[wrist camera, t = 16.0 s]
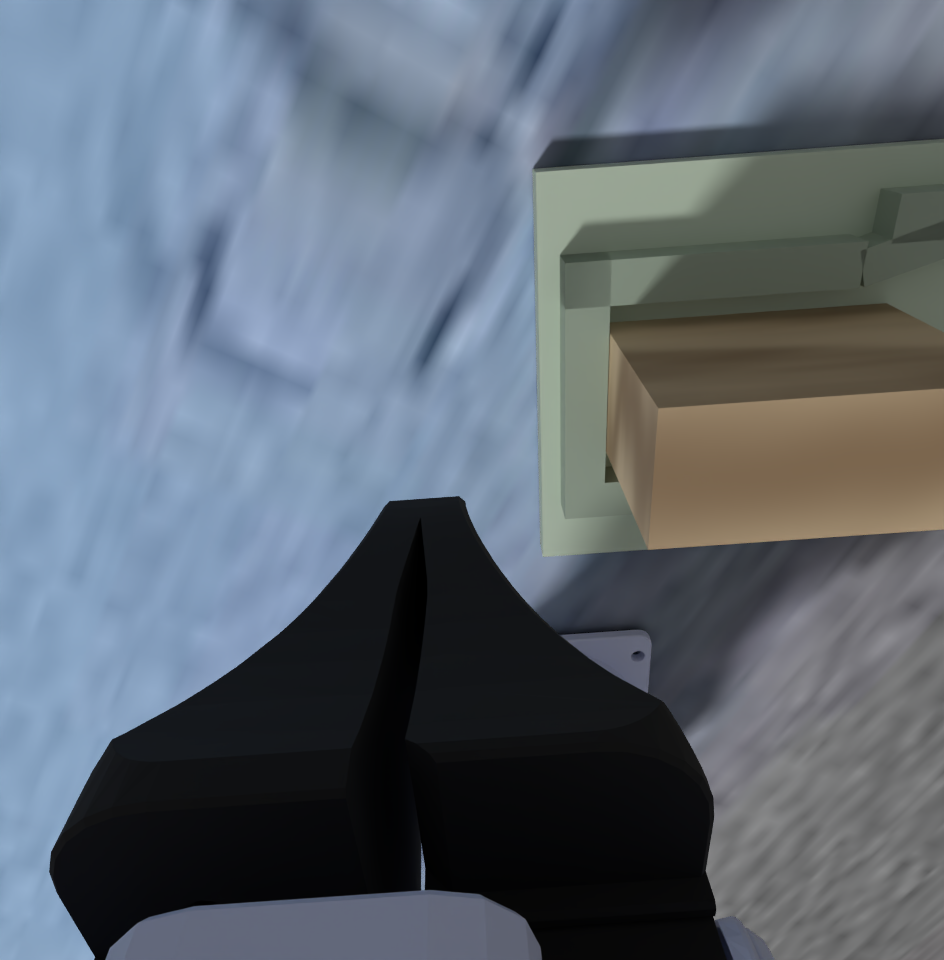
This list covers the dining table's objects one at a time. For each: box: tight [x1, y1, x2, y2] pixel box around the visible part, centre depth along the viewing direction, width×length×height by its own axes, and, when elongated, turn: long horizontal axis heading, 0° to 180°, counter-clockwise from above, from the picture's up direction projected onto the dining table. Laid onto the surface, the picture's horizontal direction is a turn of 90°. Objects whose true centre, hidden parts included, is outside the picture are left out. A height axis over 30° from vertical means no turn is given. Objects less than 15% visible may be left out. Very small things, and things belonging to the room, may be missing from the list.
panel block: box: [606, 303, 944, 550], centre depth 18 cm, size 4×8×6 cm, turn 94°
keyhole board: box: [533, 139, 944, 557], centre depth 21 cm, size 12×19×2 cm, turn 94°
